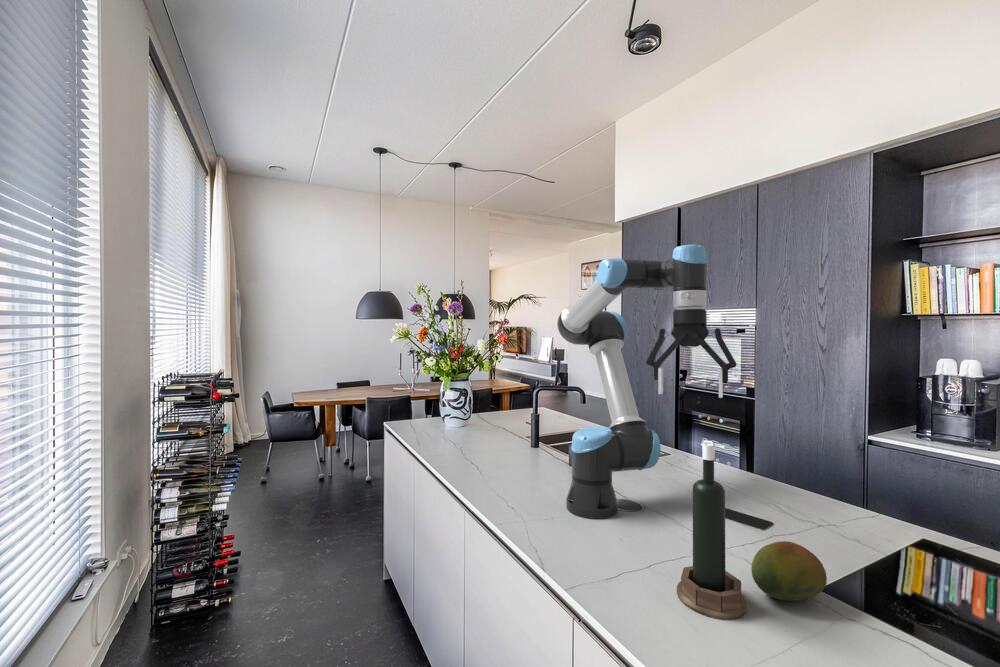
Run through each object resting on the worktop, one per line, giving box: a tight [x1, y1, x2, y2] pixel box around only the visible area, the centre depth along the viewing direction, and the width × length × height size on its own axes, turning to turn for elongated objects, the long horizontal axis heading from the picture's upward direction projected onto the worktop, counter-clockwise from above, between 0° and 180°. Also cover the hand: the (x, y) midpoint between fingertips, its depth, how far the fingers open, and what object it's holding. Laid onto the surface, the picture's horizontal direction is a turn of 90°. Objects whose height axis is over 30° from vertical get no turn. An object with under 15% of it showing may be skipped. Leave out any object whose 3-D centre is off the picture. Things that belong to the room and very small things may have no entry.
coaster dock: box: [676, 565, 748, 620], centre depth 86 cm, size 12×12×4 cm
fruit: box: [750, 540, 828, 601], centre depth 87 cm, size 12×13×10 cm
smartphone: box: [725, 507, 775, 532], centre depth 124 cm, size 7×1×15 cm
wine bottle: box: [692, 440, 726, 592], centre depth 86 cm, size 6×6×30 cm
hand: (689, 395), depth 108 cm, fingers open, 13 cm apart
